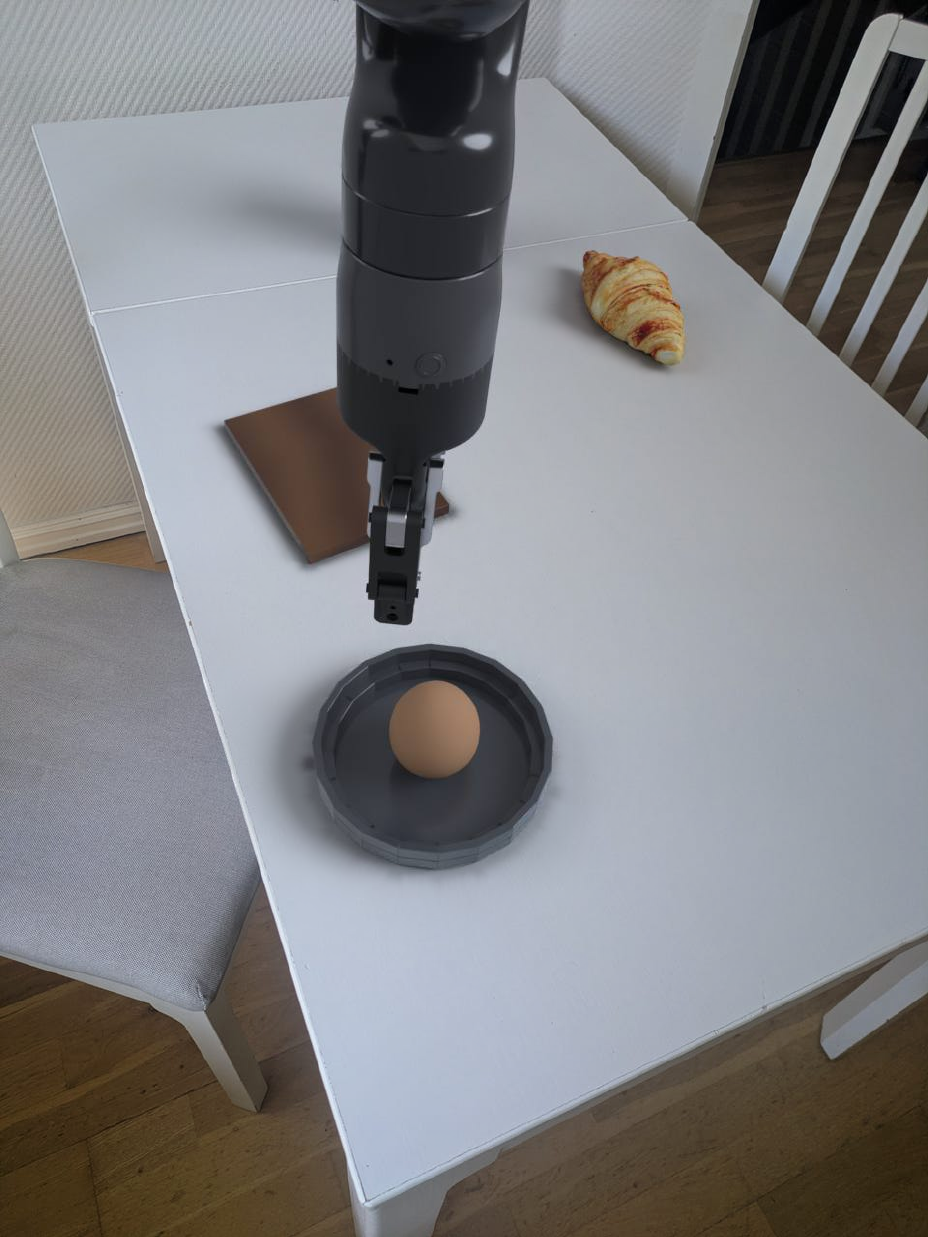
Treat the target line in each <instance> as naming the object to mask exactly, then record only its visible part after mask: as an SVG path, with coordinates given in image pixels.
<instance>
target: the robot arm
mask: <svg viewBox="0 0 928 1237" xmlns="http://www.w3.org/2000/svg"><path fill="white" fill-rule="evenodd" d="M352 1H353V2H354V3H355V65H354V66H355V67H354V75H353V81H352V85H351V89H350V93H349V98H348V101H347V106H346V110H345V116H344V123H343V131H342V141H341V161H340V162H341V163H340V168H341V238H340V248H339V249H340V251H339V257H338V264H337V271H336V280H335V315H336V316H335V319H336V320H335V322H336V325H335V326H336V330H335V331H336V333H335V334H336V336H335V337H336V341H335V342H336V387H337V406H338V410H339V413H340V416H341V418H342V420H343V421H344V423H345V424H346V425H347V427H348V428H349V429H350V430H351V431H352V432H353V433H354V434H355V435H356V436H358V437H359V438H361V439H362V440H364V441H365V442H367V443H368V444H370V445H371V446H373V447H374V448H376V449H377V450H378V451H372V450H370V452H369V459H368V469H367V481H368V483H369V484H370V487H371V490H370V501H369V511H368V522H367V535H368V536H369V538H370V542H369V553H368V554H369V558H368V582H366V584H365V585H366V586H365V593H367V600H369V601H373V619H374V620H375V621H376V622H378V623H380V624H387V625H396V626H408V625H411V624H412V623H413V618H414V610H415V608H414V607H415V603H416V599H419V594H420V593H419V592H420V588H417V587H418V582H421V580H422V579H421V578H422V571H420V561H421V554H422V552H421V551H422V548H423V547H425V546H427V545H428V544H429V543H430V542H431V541H432V536H433V529H434V528H433V527H434V519H435V518H434V510H435V501H436V494H437V492H441V490H442V487H443V480H444V470H445V460H446V459H445V458H442V456H444V455H446V452H447V451H450V450H453V449H456V448H458V447H460V446H462V445H463V444H465V443H466V442H468V441H469V440H470V439H471V438H473V437H474V436H475V435H476V434H477V432H478V431H479V430H480V428H481V427H482V425H483V422H484V420H485V417H486V412H487V406H488V405H487V404H488V398H489V391H490V384H491V377H492V370H493V363H494V357H495V349H496V343H497V335H498V327H499V321H500V314H501V309H502V299H503V255H504V246H505V238H506V233H507V232H506V231H507V224H508V219H509V218H508V217H509V210H510V204H511V196H512V189H513V180H514V169H515V157H516V92H517V82H518V76H519V69H520V64H521V60H522V52H523V46H524V42H525V35H526V28H527V24H528V23H527V22H528V17H529V9H530V6H531V5H530V4H531V0H352ZM381 496H382V500H383V504H384V506H380V503H381Z"/></svg>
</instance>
